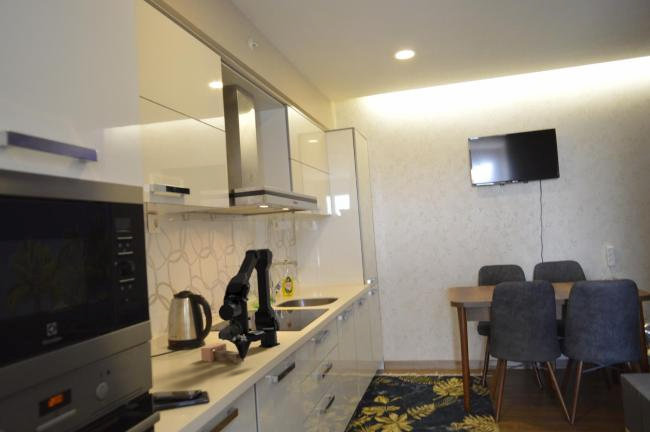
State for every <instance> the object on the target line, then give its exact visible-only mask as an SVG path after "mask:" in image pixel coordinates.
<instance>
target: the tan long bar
mask: <svg viewBox="0 0 650 432" xmlns="http://www.w3.org/2000/svg"><path fill="white" fill-rule="evenodd" d="M213 357H214V360H215V361H220V362H226V363H227V362H228V363H234V364H239V363H242V362H245V359H241V357H240V354H239V352H238V351H233V350H227V351H225V350H220V351H215V350H213Z"/></svg>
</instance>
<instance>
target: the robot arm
mask: <svg viewBox="0 0 650 432" xmlns="http://www.w3.org/2000/svg"><path fill="white" fill-rule="evenodd" d="M244 254H245V255H244V258H243V260H242V262H241V265H240V267H239V268H238V271H237V273H236V275H234V276H233V277H232V278H230V280H229V281H228V283H227V285H226V287H225V292H224V296H223V299H222V301H223V302H222V303H223V304H222V305H221V306H220V307H219V309H218V316H219V318H220V319H221V320H222V321H225V322H227V321H228V323H229V324H228V325H226V326H225V327H224V328H222V329H221V330H219V332H218V334H217V336H218V337H217V338H218V340H222V341H227V342H230V343H232V344H234V346H235V347H236V349H237V352H239V354H240V357H241V359H244V360H245V358H246V356H247V354H248V352H249V348H250V346H251V344H252V343H255V342H258V341H259V342H260V344H259V345H258V347H259V348H269V349H270V348H273V347H277V346H279V345H281V343H280V342H278V335H277V332H279V331H280V329H281V323H280V321H279V319H278V317H277V316H276V315H277V314H276V311H275V309H274V308H273V307H272V305H271V303H272V302H271V290H270V274H269V273H270V272H269V270H270V269H271V266H272V263H273V255H274V254H273V252H272V250H270V248H259V249H258V248H254V249H248V250H246V251H245V253H244ZM254 269H255V271H256V282H257V298H258V308H257V310H256V311H255V312H254V326H255V330H253V331H252V328H251V327H250V325H249V324H250V323H249V321H251V319H252V317H251V316H249V309H248V308H249V307H248V302H249V300H250V299H249V297H248V295H249V293H250V290H251V284H250V278H251V277H252V274H253V273H254Z"/></svg>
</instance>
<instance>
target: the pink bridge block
mask: <svg viewBox="0 0 650 432" xmlns="http://www.w3.org/2000/svg"><path fill="white" fill-rule="evenodd" d="M220 350H225V351H228V350H227V343H224V342H214V343H212V344H208V345H204V346H203V347H200V355H201V361H203V362H213V361H215V358H214V357H213V351H220Z"/></svg>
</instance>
